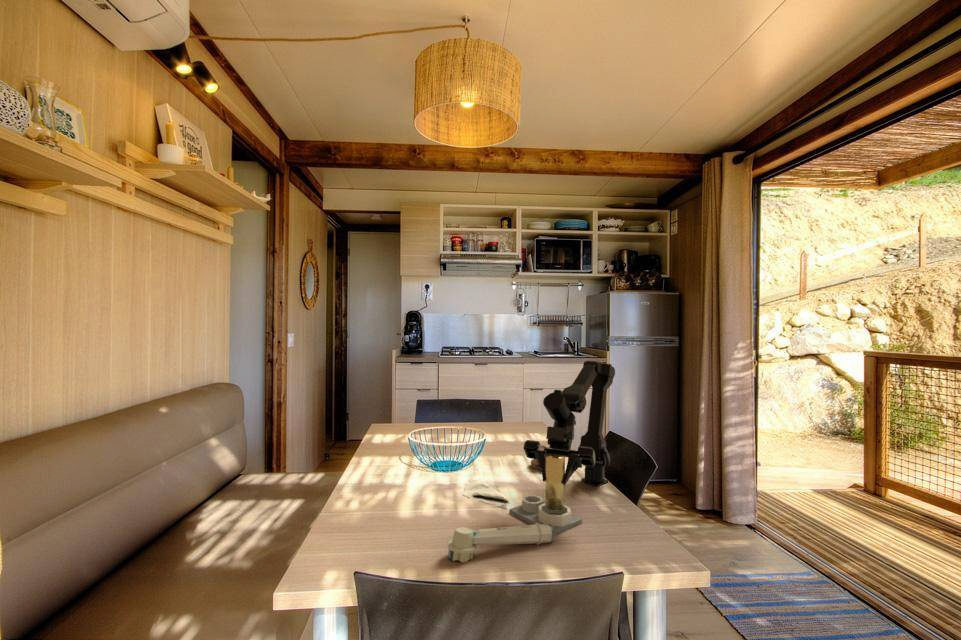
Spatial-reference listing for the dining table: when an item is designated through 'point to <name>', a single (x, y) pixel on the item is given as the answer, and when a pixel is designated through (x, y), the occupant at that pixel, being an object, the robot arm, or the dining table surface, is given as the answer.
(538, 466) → the cup and saucer
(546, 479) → the brass tumbler cup
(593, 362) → the robot arm
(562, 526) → the board
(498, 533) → the cream long-handled tool
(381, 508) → the dining table surface
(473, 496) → the cloth
